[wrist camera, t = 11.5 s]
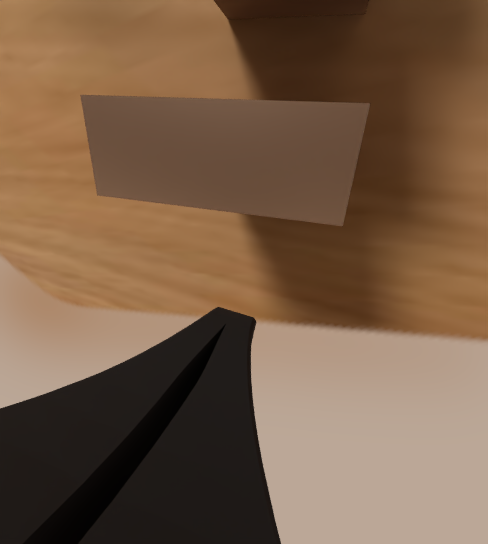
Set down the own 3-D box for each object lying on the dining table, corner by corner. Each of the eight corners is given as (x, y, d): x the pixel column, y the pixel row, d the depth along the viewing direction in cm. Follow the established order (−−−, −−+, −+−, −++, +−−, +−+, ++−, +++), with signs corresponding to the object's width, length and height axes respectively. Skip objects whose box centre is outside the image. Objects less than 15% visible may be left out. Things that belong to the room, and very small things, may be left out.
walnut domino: (333, 180, 12) (343, 226, 5) (223, 170, 13) (96, 195, 6) (341, 133, 11) (370, 103, 4) (224, 127, 12) (80, 95, 5)
